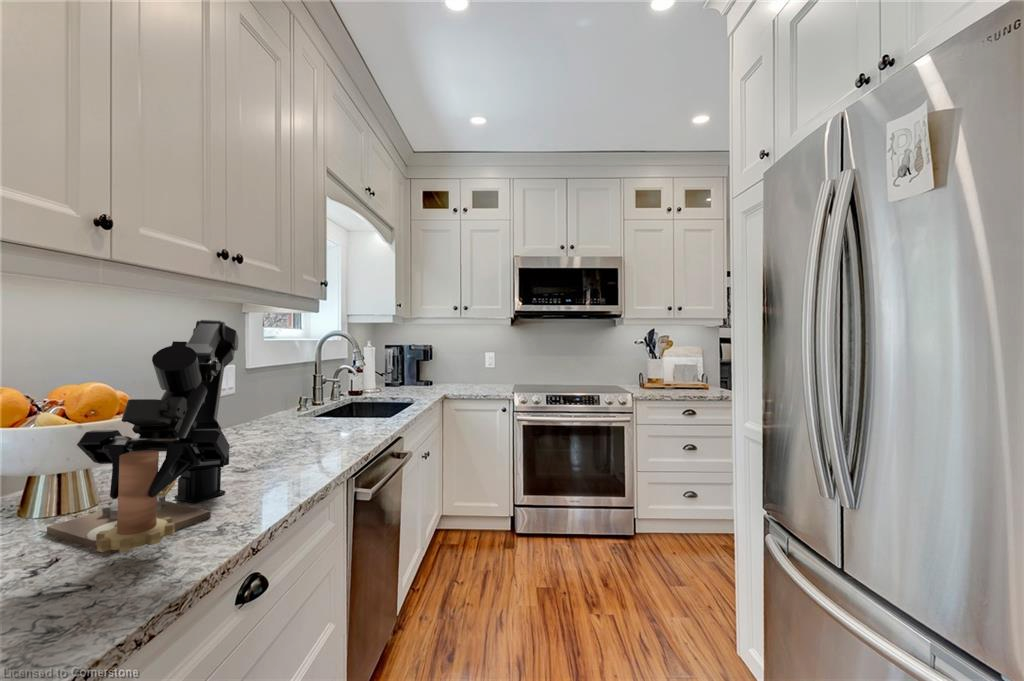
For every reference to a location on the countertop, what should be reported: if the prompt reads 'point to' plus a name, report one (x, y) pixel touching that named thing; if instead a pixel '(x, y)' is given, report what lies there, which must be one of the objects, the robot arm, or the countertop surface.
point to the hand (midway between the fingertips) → (131, 496)
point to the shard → (166, 488)
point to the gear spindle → (136, 506)
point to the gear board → (91, 525)
